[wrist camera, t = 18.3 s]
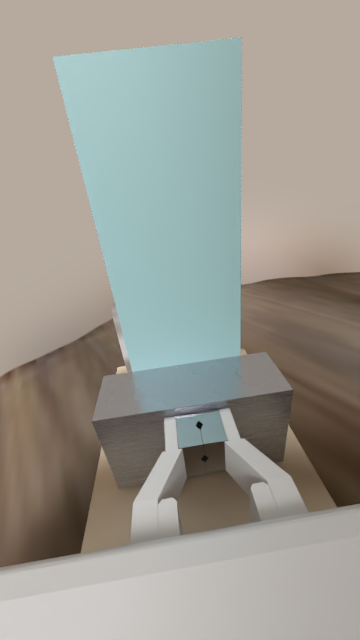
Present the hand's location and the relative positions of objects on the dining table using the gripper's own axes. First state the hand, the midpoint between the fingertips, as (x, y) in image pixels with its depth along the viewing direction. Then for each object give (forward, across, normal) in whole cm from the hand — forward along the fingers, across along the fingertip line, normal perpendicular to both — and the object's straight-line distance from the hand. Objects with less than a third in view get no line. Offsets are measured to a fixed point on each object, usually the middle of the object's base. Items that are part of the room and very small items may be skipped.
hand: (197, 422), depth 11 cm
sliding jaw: (+2, 0, +4) cm, 4 cm away
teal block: (+6, 0, +4) cm, 7 cm away
